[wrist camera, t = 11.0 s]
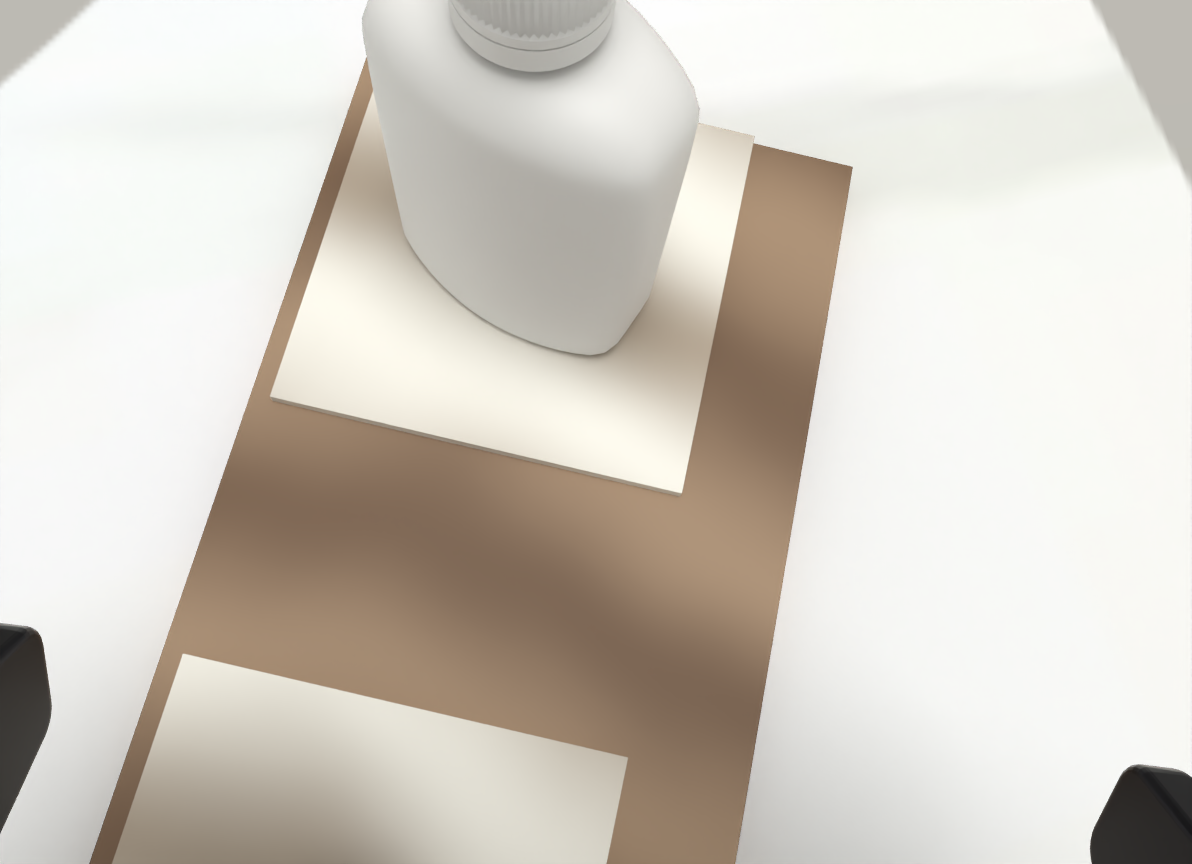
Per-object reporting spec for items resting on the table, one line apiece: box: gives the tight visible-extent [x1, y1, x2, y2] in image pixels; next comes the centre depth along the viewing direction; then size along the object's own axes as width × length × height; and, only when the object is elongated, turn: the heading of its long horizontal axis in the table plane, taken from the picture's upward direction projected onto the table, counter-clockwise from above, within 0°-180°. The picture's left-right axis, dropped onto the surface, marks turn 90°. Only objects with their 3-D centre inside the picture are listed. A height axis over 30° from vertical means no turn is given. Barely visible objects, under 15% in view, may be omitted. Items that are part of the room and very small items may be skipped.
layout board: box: [89, 58, 853, 864], centre depth 22 cm, size 24×12×1 cm, turn 167°
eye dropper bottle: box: [362, 0, 700, 355], centre depth 18 cm, size 4×6×12 cm
